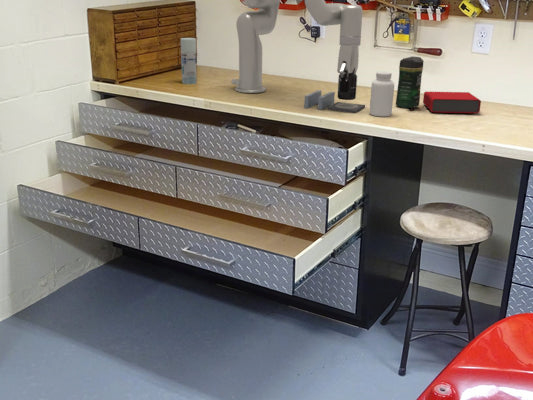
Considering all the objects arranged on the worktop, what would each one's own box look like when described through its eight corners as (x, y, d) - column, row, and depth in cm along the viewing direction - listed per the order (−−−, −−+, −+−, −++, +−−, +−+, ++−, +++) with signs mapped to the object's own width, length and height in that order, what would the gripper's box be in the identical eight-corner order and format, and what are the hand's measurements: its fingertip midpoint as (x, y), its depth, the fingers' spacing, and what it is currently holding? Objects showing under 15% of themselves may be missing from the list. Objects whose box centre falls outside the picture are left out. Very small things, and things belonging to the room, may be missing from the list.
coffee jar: (412, 109, 236) (417, 59, 230) (392, 107, 241) (396, 57, 234) (422, 105, 244) (427, 56, 237) (402, 102, 248) (407, 54, 242)
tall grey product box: (180, 84, 278) (178, 38, 271) (194, 83, 281) (192, 37, 274) (184, 87, 273) (183, 39, 266) (199, 86, 276) (197, 39, 269)
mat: (327, 109, 234) (327, 106, 234) (337, 104, 243) (337, 101, 243) (355, 113, 230) (355, 110, 229) (365, 107, 239) (365, 104, 238)
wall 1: (304, 107, 237) (304, 95, 235) (317, 101, 248) (317, 90, 246) (307, 108, 236) (308, 96, 235) (320, 102, 247) (321, 90, 246)
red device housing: (468, 105, 248) (470, 92, 246) (479, 113, 234) (481, 99, 233) (422, 104, 248) (424, 91, 246) (431, 112, 235) (432, 98, 233)
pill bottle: (386, 118, 223) (390, 75, 218) (365, 115, 227) (368, 72, 222) (395, 113, 229) (398, 72, 224) (374, 111, 233) (377, 70, 228)
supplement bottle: (355, 100, 231) (357, 67, 227) (336, 99, 233) (338, 66, 229) (356, 97, 238) (358, 64, 234) (338, 96, 239) (339, 64, 235)
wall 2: (317, 109, 235) (318, 97, 233) (330, 103, 246) (331, 91, 244) (321, 109, 234) (322, 97, 232) (334, 103, 245) (334, 92, 243)
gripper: (348, 38, 237) (345, 85, 243) (331, 42, 222) (329, 93, 228) (367, 39, 234) (364, 87, 240) (352, 43, 219) (349, 95, 225)
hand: (347, 89), depth 234 cm, fingers closed on supplement bottle, 6 cm apart
